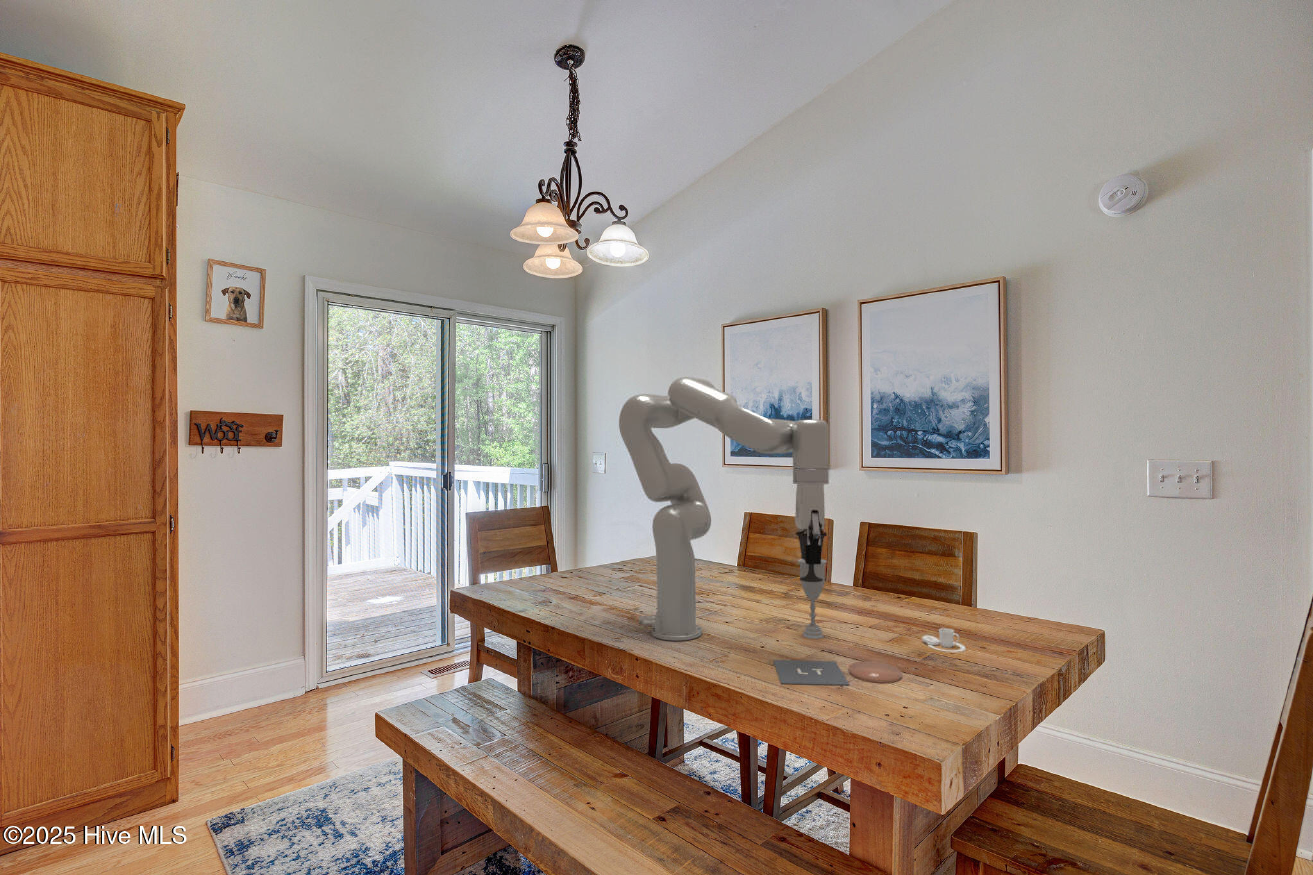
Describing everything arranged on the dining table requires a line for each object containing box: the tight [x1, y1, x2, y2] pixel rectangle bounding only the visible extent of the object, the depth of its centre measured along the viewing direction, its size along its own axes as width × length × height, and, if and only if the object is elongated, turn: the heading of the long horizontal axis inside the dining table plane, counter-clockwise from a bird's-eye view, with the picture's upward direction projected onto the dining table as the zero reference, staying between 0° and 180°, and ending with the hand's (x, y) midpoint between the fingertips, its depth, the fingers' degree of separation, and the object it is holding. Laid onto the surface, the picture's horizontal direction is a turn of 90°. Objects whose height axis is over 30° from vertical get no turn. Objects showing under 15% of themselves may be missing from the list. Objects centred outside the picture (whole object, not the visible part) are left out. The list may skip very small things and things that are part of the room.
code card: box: [773, 659, 851, 686], centre depth 129 cm, size 13×13×1 cm
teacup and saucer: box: [921, 627, 967, 653], centre depth 145 cm, size 9×8×4 cm
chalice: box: [797, 558, 828, 640], centre depth 153 cm, size 7×7×18 cm
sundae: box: [794, 524, 828, 582], centre depth 137 cm, size 7×7×15 cm
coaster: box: [848, 660, 903, 684], centre depth 128 cm, size 10×10×1 cm
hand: (811, 560), depth 137 cm, fingers closed on sundae, 4 cm apart
